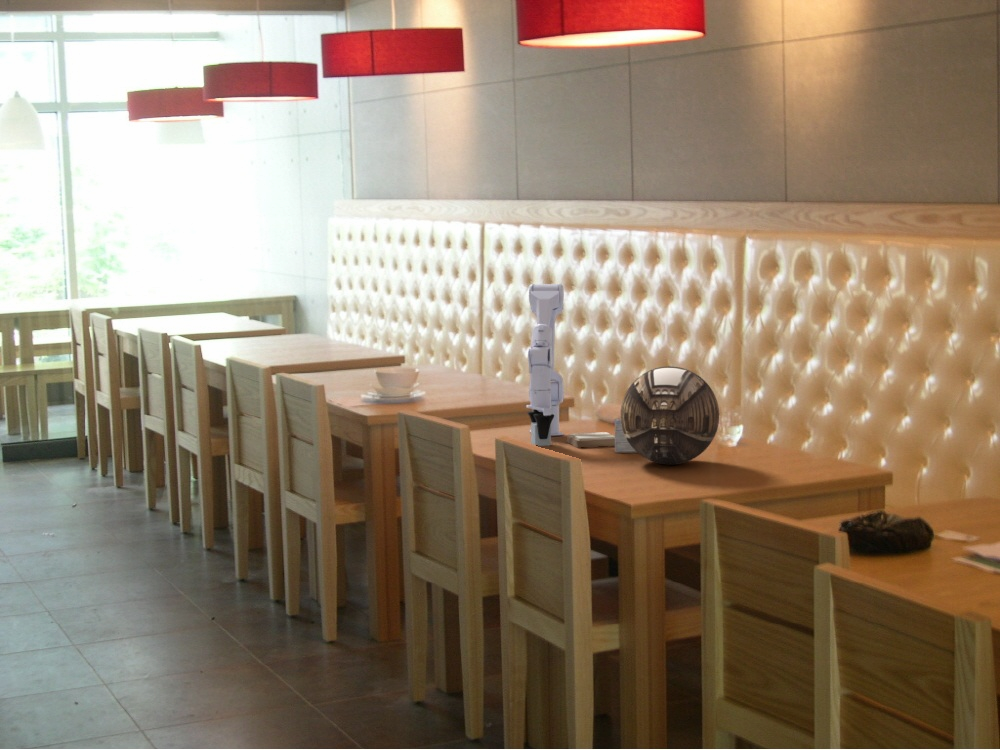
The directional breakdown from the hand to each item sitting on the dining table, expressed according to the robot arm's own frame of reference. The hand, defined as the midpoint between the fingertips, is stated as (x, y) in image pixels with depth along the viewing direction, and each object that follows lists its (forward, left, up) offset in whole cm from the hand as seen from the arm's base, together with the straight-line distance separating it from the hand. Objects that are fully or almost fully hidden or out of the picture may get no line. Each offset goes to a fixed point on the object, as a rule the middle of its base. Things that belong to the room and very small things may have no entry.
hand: (540, 437), depth 363 cm
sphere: (+38, +24, -2) cm, 45 cm away
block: (0, 0, -2) cm, 2 cm away
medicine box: (+18, +20, -2) cm, 27 cm away
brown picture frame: (+4, +14, -2) cm, 15 cm away
